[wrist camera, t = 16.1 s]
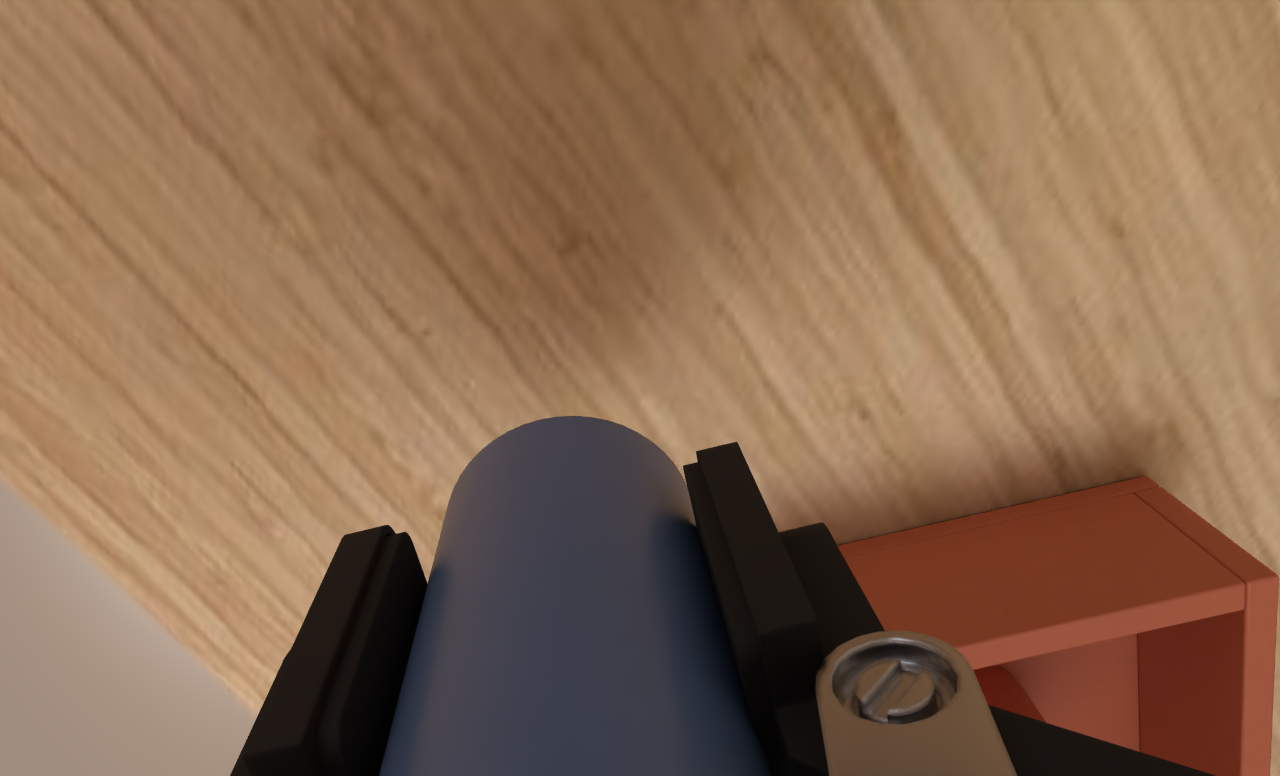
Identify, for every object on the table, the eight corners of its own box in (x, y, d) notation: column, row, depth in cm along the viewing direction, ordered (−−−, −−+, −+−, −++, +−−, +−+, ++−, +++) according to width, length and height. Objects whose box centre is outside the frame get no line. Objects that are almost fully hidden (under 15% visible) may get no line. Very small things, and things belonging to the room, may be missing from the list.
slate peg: (485, 656, 14) (416, 1199, 7) (413, 447, 12) (250, 875, 6) (714, 602, 14) (853, 1095, 7) (665, 387, 12) (781, 749, 6)
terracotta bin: (765, 905, 23) (800, 1068, 20) (687, 577, 20) (713, 702, 16) (1153, 821, 23) (1263, 969, 19) (1147, 474, 20) (1280, 575, 16)
